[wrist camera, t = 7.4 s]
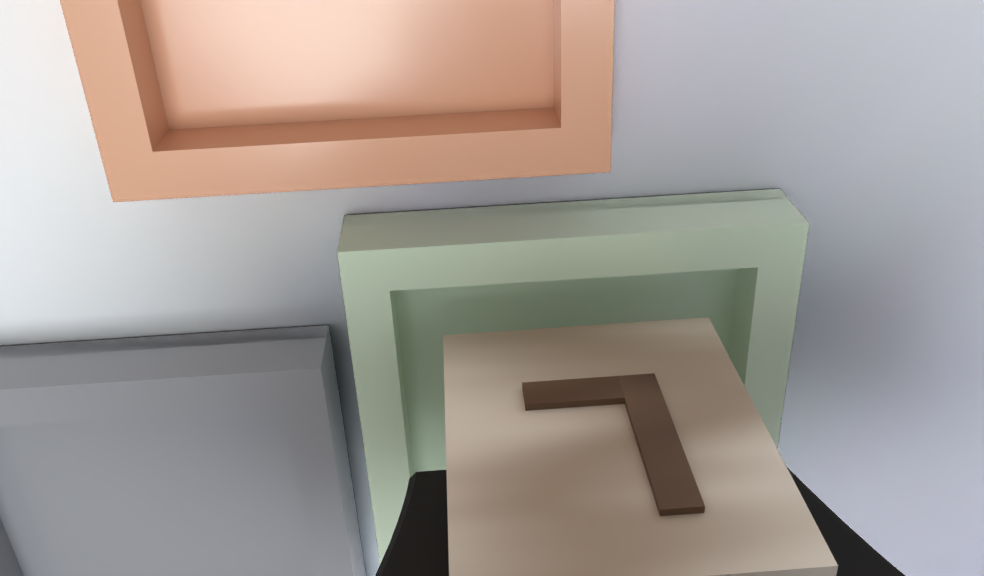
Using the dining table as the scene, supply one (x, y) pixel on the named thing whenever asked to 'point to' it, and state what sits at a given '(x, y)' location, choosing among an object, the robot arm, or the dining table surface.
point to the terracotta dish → (341, 92)
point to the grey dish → (176, 457)
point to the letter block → (615, 458)
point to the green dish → (554, 299)
